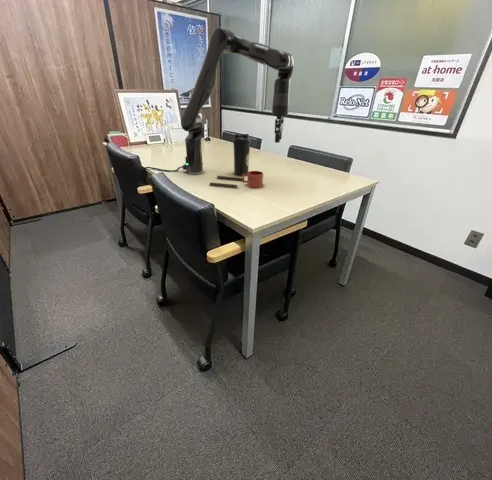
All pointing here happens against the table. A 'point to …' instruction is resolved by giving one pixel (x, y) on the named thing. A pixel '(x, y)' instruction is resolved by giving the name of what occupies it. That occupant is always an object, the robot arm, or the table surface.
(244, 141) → the water bottle
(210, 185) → the guide rails
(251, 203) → the table surface
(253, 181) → the mug
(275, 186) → the table surface
